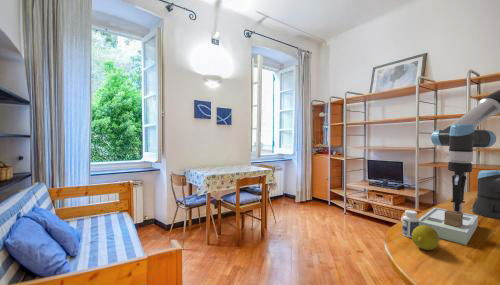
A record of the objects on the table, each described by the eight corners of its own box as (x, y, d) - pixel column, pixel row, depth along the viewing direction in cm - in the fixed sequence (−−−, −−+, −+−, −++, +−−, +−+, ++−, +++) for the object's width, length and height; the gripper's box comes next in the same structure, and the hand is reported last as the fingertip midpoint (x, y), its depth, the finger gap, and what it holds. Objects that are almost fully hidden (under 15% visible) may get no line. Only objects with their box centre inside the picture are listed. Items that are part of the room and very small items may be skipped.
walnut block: (446, 221, 103) (447, 209, 103) (462, 224, 99) (463, 212, 99) (444, 224, 100) (444, 212, 100) (460, 227, 96) (460, 215, 96)
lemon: (431, 256, 81) (432, 233, 80) (405, 247, 87) (406, 225, 87) (444, 248, 87) (445, 226, 86) (419, 240, 93) (420, 219, 93)
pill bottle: (419, 235, 98) (420, 211, 97) (416, 239, 94) (418, 214, 93) (403, 231, 101) (404, 208, 101) (400, 235, 97) (401, 211, 97)
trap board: (433, 216, 121) (434, 207, 121) (477, 225, 109) (478, 215, 109) (415, 231, 102) (416, 220, 102) (466, 245, 90) (466, 232, 90)
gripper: (451, 160, 107) (449, 212, 108) (444, 161, 99) (442, 219, 100) (474, 161, 102) (471, 217, 102) (469, 163, 93) (466, 224, 94)
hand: (457, 218), depth 101 cm, fingers closed
